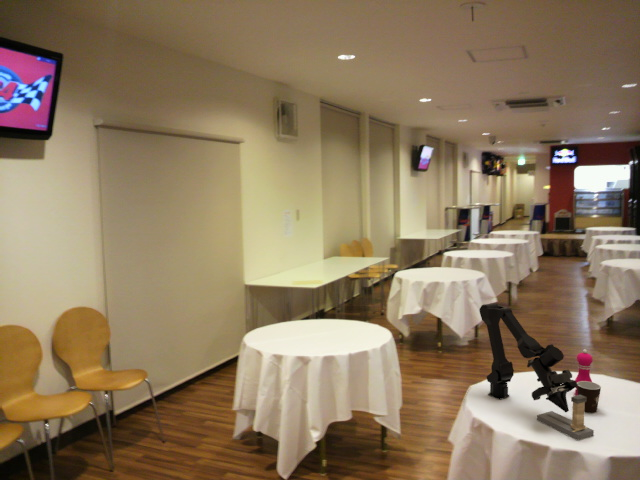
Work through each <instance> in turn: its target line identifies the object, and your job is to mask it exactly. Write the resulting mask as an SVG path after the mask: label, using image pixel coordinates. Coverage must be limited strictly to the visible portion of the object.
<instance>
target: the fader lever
mask: <svg viewBox="0 0 640 480" xmlns="http://www.w3.org/2000/svg"><path fill="white" fill-rule="evenodd" d="M571 402H572V413H571V415H572V416H571V417H572V419H571V420H572V424H571V425H570V427H571V428H573V429H575V430H577V431H579V430H582V429H585V427H586V425H585V412H584V409H585V402H587V397H585V396H583V395H577V396H576V395H574V396H571Z"/></svg>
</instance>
